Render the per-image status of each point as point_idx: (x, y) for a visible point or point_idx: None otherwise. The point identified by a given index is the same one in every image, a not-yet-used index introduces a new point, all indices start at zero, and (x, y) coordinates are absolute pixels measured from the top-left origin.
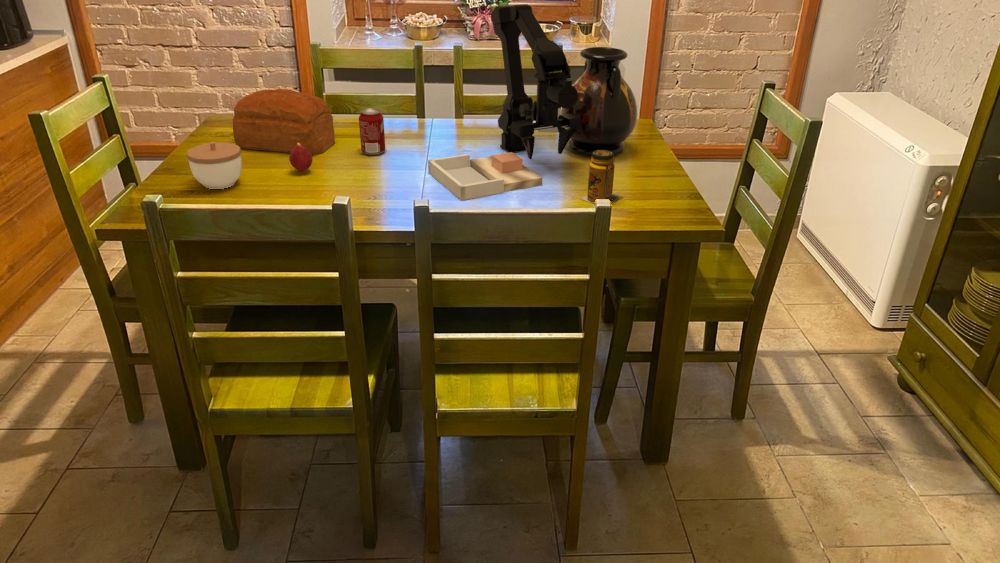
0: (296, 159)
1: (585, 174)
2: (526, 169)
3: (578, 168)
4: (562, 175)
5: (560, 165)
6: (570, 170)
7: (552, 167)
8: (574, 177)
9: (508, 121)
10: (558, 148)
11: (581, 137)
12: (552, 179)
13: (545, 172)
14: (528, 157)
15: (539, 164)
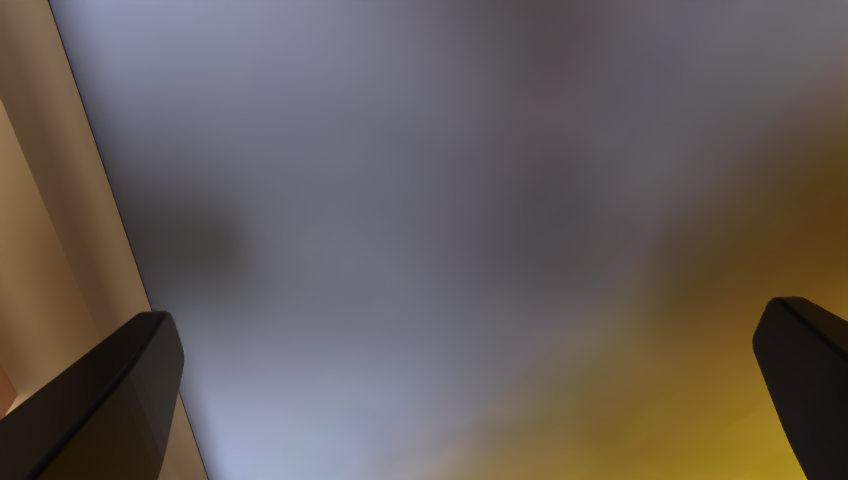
0: None
1: (714, 450)
2: None
3: None
4: (513, 410)
5: (718, 183)
6: (682, 344)
7: (577, 203)
8: (577, 467)
9: None
10: (823, 366)
11: None
12: (366, 447)
13: (397, 301)
14: (135, 315)
15: (488, 23)
